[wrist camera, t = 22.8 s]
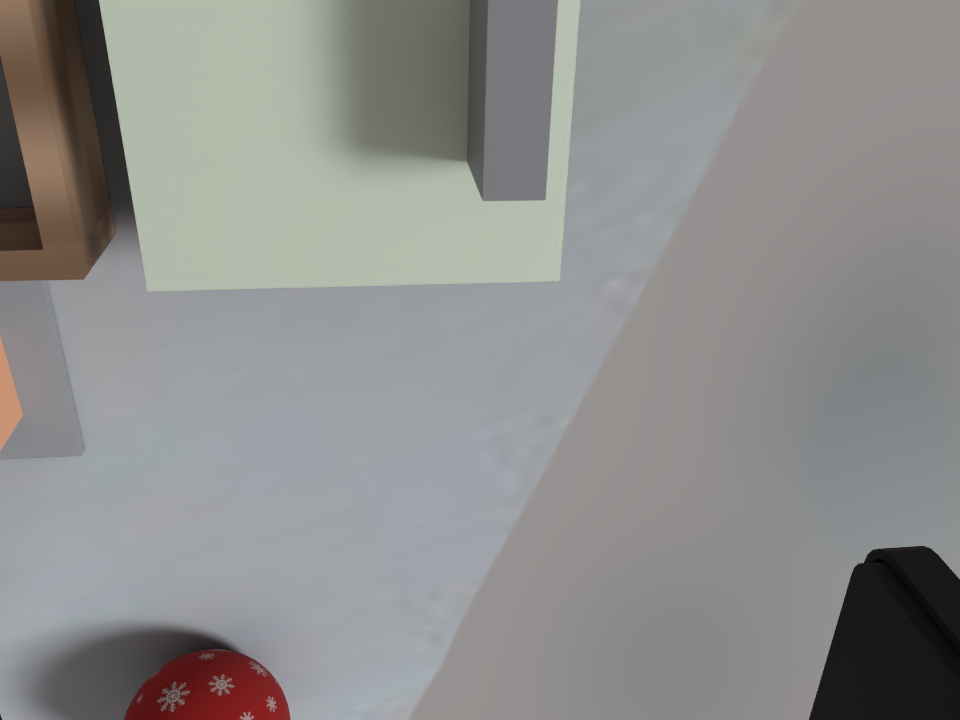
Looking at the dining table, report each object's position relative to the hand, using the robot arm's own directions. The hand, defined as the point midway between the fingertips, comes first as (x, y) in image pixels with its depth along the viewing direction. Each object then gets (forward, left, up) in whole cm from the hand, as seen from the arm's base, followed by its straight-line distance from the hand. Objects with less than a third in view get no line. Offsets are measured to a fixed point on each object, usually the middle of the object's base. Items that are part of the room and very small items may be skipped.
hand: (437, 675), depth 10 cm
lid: (-2, -1, -25) cm, 25 cm away
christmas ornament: (+32, -10, -31) cm, 45 cm away
